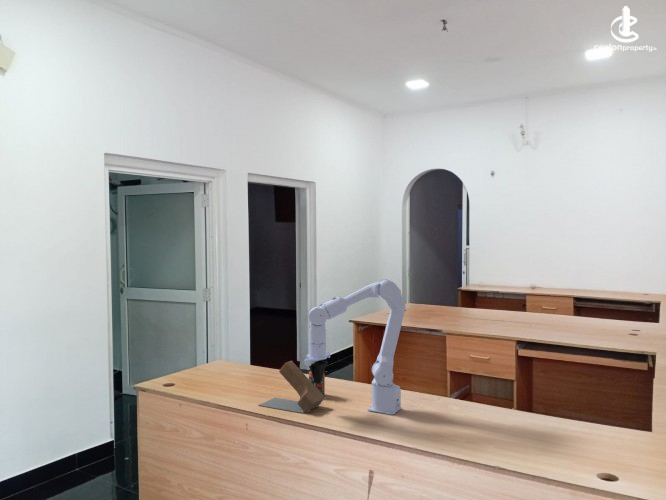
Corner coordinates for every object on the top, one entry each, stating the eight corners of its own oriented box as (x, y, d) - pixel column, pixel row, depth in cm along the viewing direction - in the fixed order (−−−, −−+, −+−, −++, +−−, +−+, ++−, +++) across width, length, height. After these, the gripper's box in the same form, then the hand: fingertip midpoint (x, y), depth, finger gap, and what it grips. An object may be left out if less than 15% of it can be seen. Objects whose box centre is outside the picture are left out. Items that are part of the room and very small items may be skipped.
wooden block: (312, 404, 171) (277, 365, 177) (305, 413, 172) (270, 374, 179) (326, 397, 179) (291, 360, 185) (318, 405, 180) (285, 368, 187)
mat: (317, 405, 181) (317, 404, 181) (302, 413, 172) (302, 412, 172) (274, 398, 189) (274, 397, 189) (258, 405, 180) (258, 405, 180)
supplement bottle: (317, 398, 188) (317, 368, 188) (305, 396, 192) (305, 365, 192) (327, 395, 193) (327, 364, 193) (315, 392, 197) (315, 362, 197)
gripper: (317, 338, 183) (317, 376, 183) (296, 345, 170) (296, 386, 170) (335, 339, 180) (335, 378, 180) (314, 347, 167) (314, 389, 167)
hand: (317, 382), depth 175 cm, fingers closed
